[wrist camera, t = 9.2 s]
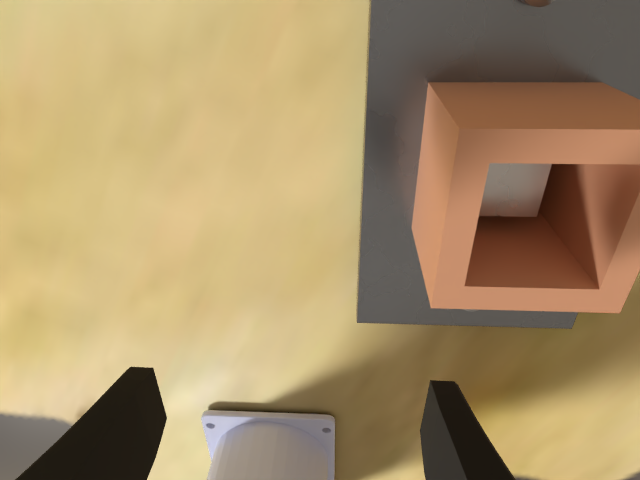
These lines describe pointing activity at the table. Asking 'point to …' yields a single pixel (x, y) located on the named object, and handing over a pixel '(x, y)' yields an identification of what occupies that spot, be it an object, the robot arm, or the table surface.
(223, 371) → the table surface
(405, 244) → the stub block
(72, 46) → the table surface
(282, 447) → the robot arm
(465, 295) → the collar
